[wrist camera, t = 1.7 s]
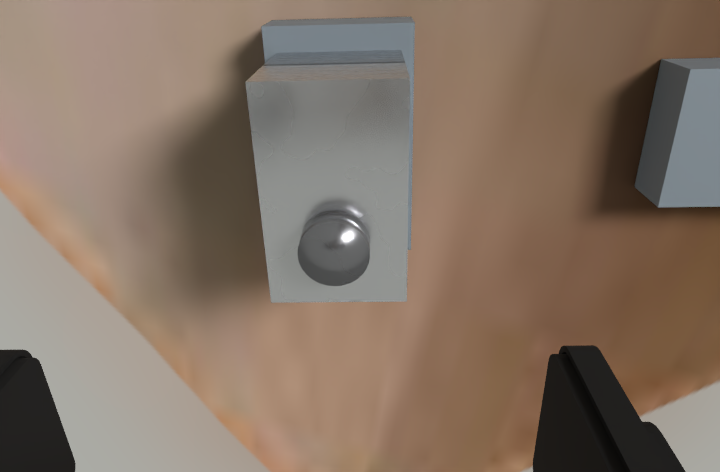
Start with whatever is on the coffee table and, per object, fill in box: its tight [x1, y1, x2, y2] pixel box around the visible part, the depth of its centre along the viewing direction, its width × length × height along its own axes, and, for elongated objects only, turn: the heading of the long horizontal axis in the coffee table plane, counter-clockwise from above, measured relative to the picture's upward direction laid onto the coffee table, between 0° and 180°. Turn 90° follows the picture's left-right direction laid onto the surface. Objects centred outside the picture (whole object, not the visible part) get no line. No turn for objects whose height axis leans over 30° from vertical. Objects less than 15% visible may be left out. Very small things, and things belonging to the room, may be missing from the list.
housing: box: [245, 50, 410, 303], centre depth 21 cm, size 8×5×7 cm, turn 1°
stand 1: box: [261, 17, 415, 250], centre depth 25 cm, size 10×6×2 cm, turn 1°
